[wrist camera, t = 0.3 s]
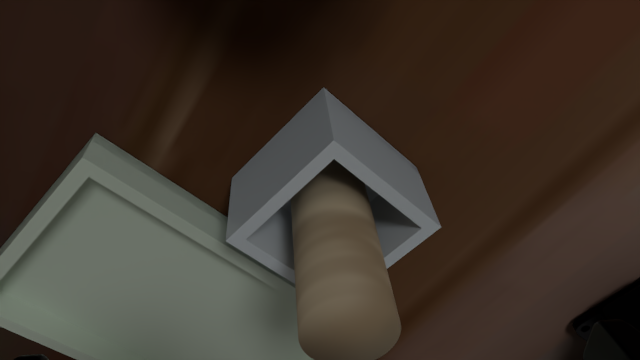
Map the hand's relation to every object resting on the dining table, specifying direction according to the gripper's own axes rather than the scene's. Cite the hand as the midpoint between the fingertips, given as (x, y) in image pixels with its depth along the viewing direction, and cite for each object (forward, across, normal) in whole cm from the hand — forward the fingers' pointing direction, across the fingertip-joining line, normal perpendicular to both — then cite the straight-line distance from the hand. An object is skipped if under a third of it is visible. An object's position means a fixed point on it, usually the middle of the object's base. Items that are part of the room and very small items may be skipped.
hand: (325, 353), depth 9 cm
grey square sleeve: (+13, -1, +5) cm, 14 cm away
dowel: (+13, -1, +5) cm, 14 cm away
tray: (+13, +6, +12) cm, 19 cm away
